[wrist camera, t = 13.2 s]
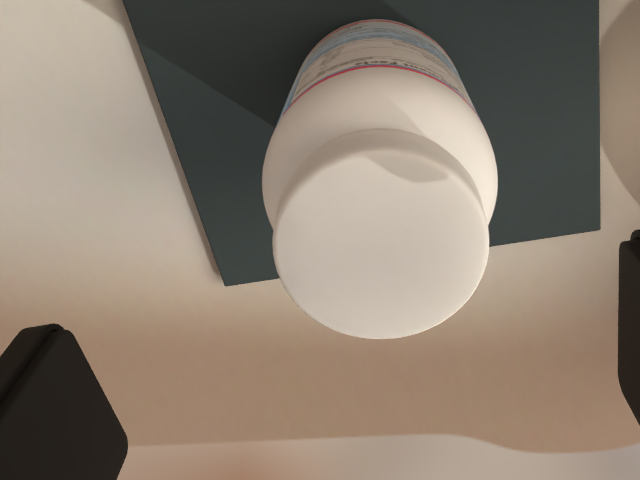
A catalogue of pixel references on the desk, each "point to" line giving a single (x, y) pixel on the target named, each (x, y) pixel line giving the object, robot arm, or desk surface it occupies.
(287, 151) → the pill bottle
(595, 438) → the desk surface
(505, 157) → the mat
